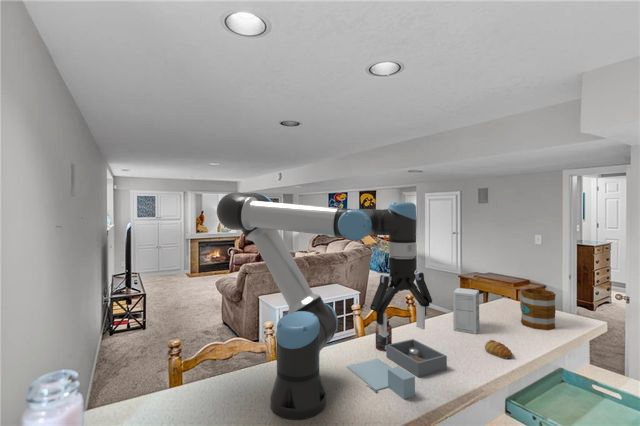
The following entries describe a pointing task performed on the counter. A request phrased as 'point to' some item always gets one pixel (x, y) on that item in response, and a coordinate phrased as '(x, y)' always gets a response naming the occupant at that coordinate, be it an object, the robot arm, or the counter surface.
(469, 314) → the supplement box
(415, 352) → the ball
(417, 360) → the walnut block
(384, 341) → the supplement bottle
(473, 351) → the counter surface
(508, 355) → the pastry
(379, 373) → the lid
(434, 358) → the tub
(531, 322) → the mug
